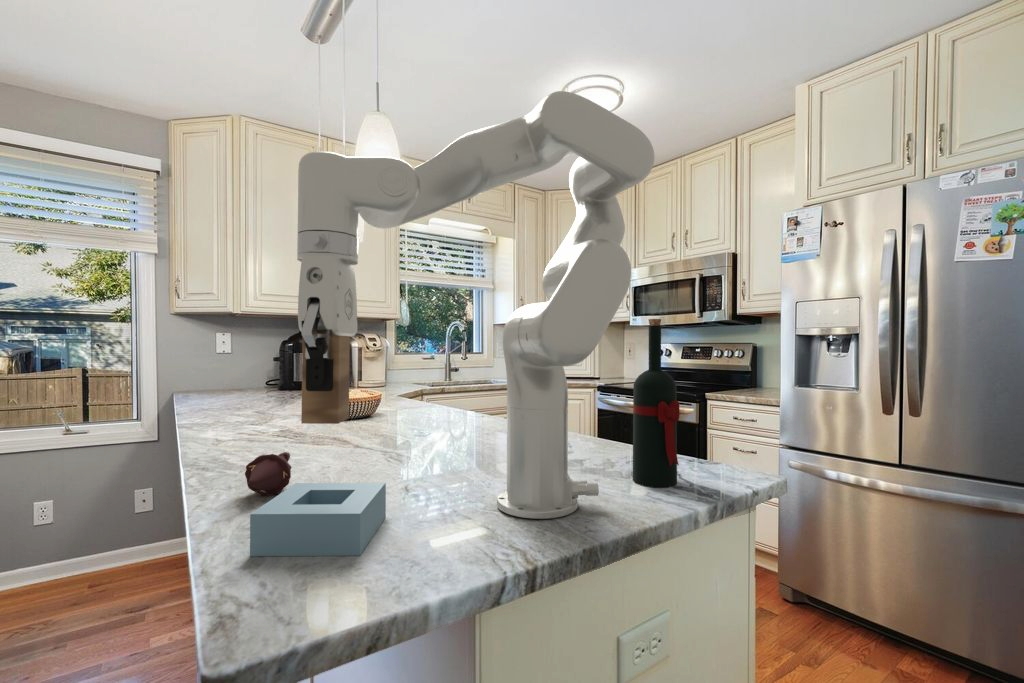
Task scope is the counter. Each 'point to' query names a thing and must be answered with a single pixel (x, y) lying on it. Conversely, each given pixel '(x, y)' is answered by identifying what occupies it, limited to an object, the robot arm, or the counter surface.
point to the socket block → (318, 520)
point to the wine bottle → (655, 420)
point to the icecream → (268, 474)
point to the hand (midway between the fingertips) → (326, 387)
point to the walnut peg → (335, 402)
